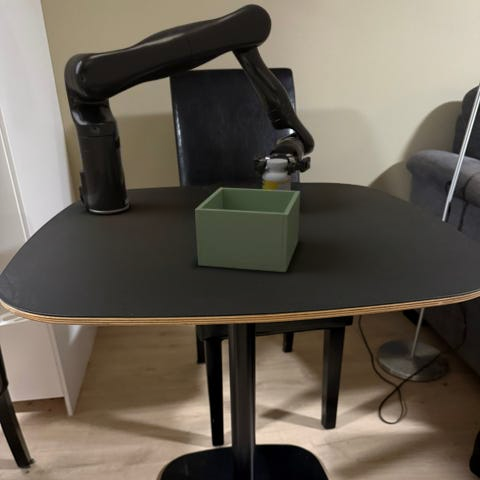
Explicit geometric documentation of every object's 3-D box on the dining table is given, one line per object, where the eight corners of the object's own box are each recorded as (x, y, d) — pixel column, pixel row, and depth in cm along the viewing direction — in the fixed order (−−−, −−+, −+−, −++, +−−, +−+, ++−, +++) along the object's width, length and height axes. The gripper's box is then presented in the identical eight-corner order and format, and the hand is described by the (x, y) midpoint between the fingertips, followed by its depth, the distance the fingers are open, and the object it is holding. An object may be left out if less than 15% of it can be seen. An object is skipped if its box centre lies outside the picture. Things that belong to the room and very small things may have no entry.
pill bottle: (260, 208, 116) (260, 158, 110) (287, 207, 116) (288, 157, 111) (264, 216, 110) (264, 163, 105) (292, 214, 111) (294, 162, 105)
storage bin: (198, 265, 84) (194, 209, 80) (221, 236, 98) (219, 187, 93) (285, 272, 81) (288, 214, 76) (297, 241, 94) (300, 190, 90)
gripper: (258, 140, 120) (243, 151, 106) (316, 141, 117) (308, 153, 103) (258, 170, 124) (243, 186, 110) (314, 172, 121) (306, 188, 107)
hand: (275, 170), depth 106 cm, fingers closed on pill bottle, 5 cm apart
